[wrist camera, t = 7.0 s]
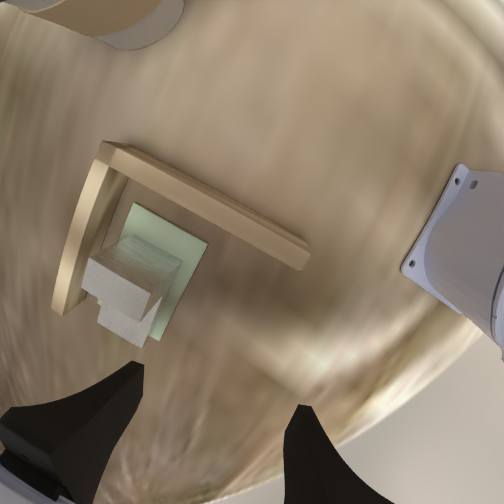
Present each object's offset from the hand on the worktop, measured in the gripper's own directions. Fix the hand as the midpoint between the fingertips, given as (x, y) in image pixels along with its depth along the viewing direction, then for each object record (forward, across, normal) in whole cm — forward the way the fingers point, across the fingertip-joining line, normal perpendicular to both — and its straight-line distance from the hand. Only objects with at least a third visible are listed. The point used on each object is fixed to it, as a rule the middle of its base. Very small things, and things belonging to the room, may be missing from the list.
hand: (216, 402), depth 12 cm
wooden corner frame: (+10, +5, -2) cm, 11 cm away
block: (+9, +7, 0) cm, 12 cm away
